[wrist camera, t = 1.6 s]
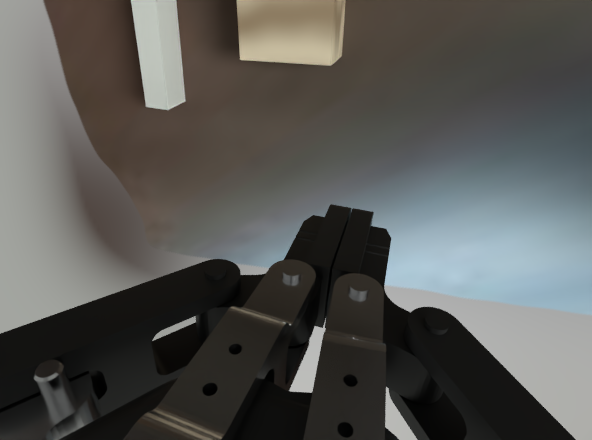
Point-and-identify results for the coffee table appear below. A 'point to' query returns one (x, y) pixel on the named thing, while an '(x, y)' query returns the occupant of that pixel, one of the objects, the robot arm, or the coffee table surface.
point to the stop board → (159, 52)
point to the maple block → (291, 30)
